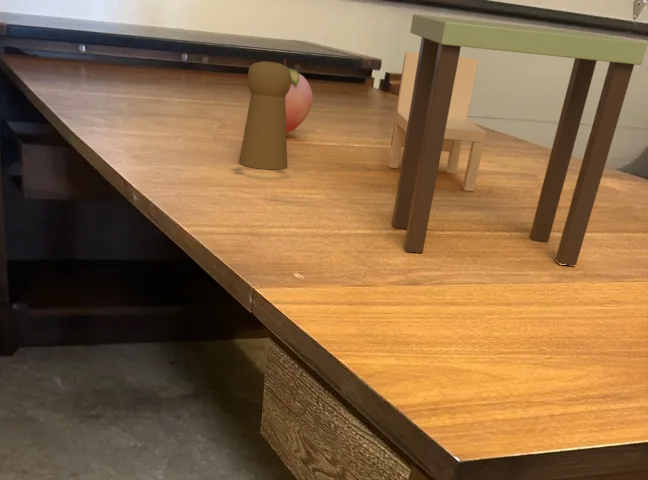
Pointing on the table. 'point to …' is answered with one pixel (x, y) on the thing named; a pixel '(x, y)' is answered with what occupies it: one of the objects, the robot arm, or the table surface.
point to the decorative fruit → (297, 100)
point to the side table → (587, 49)
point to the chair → (456, 122)
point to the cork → (266, 117)
